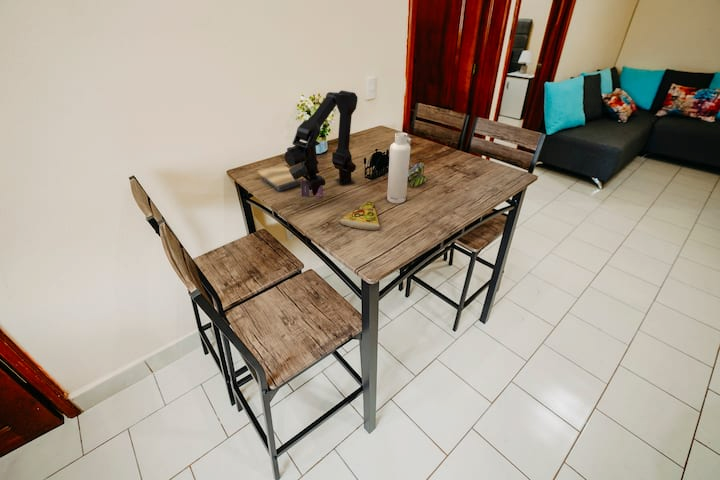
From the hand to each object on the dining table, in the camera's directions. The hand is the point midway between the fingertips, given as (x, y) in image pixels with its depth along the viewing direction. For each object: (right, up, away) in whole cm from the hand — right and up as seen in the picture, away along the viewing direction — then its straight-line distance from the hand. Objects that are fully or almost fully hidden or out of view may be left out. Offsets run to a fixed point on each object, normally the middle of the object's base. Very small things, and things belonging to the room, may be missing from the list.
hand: (312, 192), depth 143 cm
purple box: (0, -1, +1) cm, 1 cm away
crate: (-17, +7, +15) cm, 24 cm away
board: (-17, +10, +13) cm, 24 cm away
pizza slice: (+22, -10, -8) cm, 26 cm away
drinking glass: (+44, +25, +40) cm, 64 cm away
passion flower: (+46, +7, +15) cm, 49 cm away
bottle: (+36, -2, +3) cm, 36 cm away
